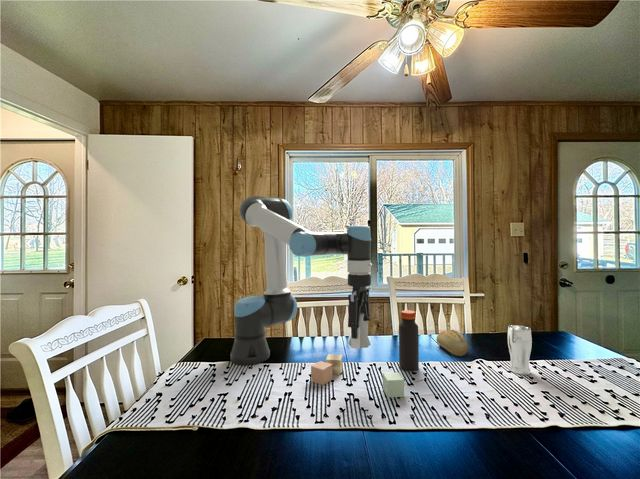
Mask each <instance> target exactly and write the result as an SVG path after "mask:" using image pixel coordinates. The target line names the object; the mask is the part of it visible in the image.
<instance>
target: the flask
mask: <svg viewBox="0 0 640 479" xmlns="http://www.w3.org/2000/svg"><path fill="white" fill-rule="evenodd" d="M363 316H364V314H363V313H360V320H359V327H360V349H361V348H362V349H366V348H369V347H370V346H371V341H370V339H369V335H368V336H367V333H366V330H365V327H364V321H363ZM347 344H348V345H349V347H351V336H350V337H349V340H348V343H347Z"/></svg>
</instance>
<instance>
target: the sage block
mask: <svg viewBox="0 0 640 479" xmlns="http://www.w3.org/2000/svg"><path fill="white" fill-rule="evenodd" d="M382 390H383V392H384V394H385V395H386V397H387V398H400V397H405V379H404V378H403V376H402V375H401V374H400V372H397V371H395V372H382Z"/></svg>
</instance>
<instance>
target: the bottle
mask: <svg viewBox="0 0 640 479" xmlns="http://www.w3.org/2000/svg"><path fill="white" fill-rule="evenodd" d="M400 313H401V314H400V315H401V316H400V317H401V322H400V323H399V324H398V367H399V368H400V369H401V370H403V371H408V372H415V371H418V370H419V367H420V366H419V364H420V363H419V359H420V358H419V357H420V356H419V353H420V352H419V325H418V324H417V323H416V311H415V310H410V309H409V310H408V309H405V310H401V312H400Z"/></svg>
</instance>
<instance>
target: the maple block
mask: <svg viewBox="0 0 640 479" xmlns="http://www.w3.org/2000/svg"><path fill="white" fill-rule="evenodd" d="M325 363H329V364H332V375H339V376H341V375H342V371H343V354H337V353H335V354H332V353H328V354H327V356H326V359H325Z"/></svg>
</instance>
